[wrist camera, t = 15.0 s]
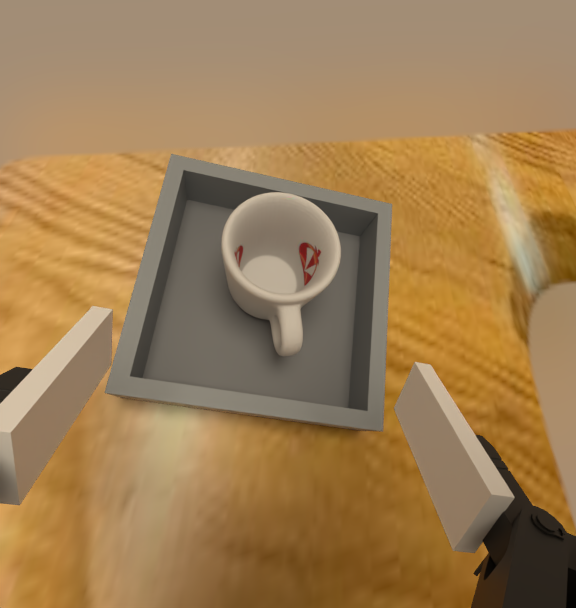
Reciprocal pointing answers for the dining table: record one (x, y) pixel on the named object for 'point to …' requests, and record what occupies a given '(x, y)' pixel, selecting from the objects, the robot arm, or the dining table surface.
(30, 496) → the dining table surface
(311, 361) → the tray
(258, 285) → the cup
